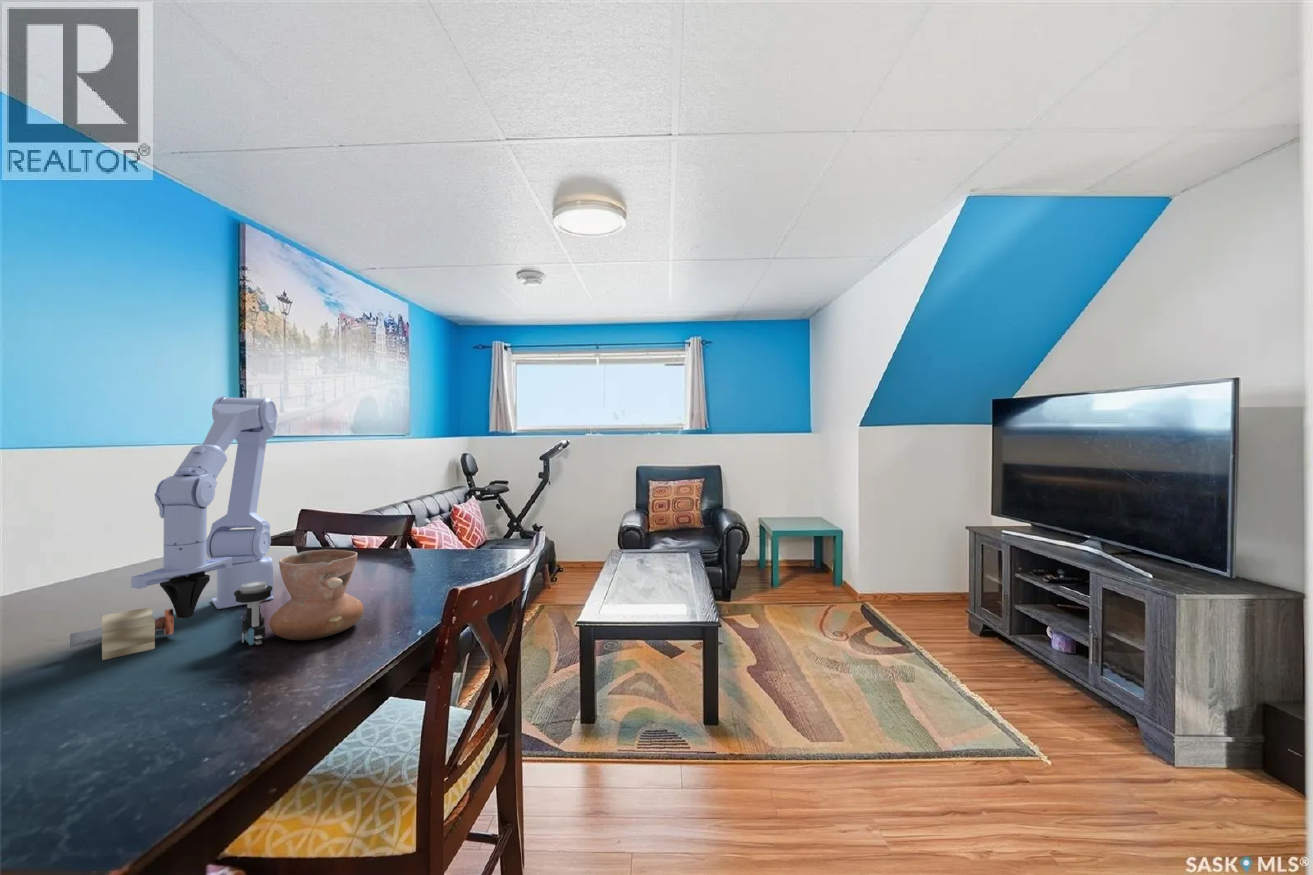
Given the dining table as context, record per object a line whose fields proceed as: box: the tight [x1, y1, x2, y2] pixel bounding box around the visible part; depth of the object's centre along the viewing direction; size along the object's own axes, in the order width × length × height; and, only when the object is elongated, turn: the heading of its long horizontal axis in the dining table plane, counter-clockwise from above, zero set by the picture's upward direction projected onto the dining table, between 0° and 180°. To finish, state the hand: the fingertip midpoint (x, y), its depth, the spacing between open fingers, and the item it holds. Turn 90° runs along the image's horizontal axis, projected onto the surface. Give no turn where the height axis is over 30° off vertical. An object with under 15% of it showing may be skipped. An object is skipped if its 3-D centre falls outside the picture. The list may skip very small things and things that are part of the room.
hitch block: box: [101, 606, 156, 661], centre depth 87 cm, size 6×10×5 cm, turn 48°
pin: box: [69, 608, 175, 648], centre depth 87 cm, size 12×4×4 cm, turn 138°
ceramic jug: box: [269, 549, 365, 641], centre depth 95 cm, size 18×14×14 cm
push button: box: [234, 581, 274, 646], centre depth 89 cm, size 7×5×10 cm
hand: (184, 617), depth 92 cm, fingers closed
